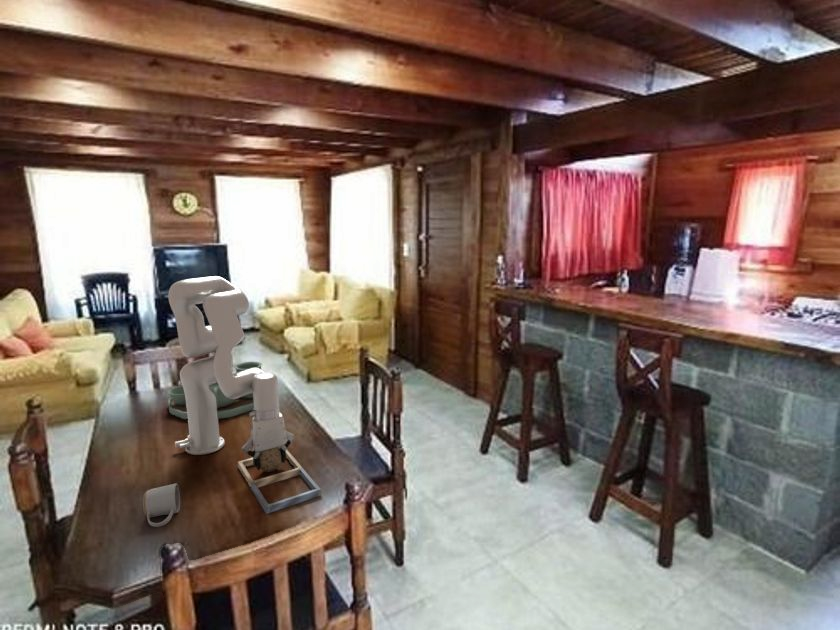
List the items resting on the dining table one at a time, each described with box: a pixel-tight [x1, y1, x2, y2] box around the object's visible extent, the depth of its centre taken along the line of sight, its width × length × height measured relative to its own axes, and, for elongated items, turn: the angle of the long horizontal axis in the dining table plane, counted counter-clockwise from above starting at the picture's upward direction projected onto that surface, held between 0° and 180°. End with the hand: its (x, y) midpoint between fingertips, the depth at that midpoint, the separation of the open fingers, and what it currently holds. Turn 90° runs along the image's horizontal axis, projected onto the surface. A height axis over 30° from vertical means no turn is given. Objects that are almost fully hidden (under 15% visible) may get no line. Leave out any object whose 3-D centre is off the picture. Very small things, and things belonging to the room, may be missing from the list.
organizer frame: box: [237, 449, 322, 515], centre depth 148 cm, size 16×30×2 cm, turn 34°
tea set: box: [167, 360, 263, 420], centre depth 208 cm, size 40×40×16 cm
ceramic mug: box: [142, 482, 181, 528], centre depth 130 cm, size 11×8×8 cm
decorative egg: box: [258, 447, 282, 473], centre depth 153 cm, size 7×7×10 cm
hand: (270, 464), depth 153 cm, fingers closed on decorative egg, 7 cm apart
